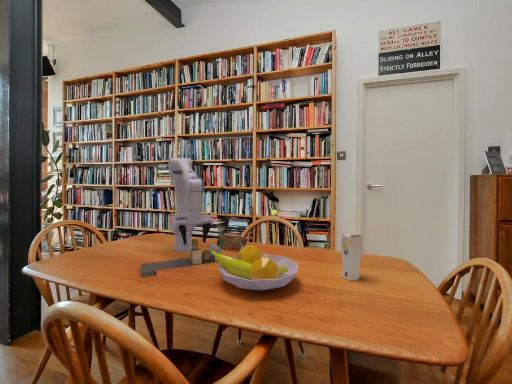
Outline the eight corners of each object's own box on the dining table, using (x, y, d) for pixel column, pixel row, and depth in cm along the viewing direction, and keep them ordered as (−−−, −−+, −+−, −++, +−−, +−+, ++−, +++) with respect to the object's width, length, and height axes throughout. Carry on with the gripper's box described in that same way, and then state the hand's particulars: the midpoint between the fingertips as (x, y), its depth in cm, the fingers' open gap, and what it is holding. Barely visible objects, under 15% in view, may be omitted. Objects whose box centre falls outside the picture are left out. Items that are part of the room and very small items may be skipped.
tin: (216, 251, 125) (216, 234, 125) (220, 250, 128) (220, 232, 128) (244, 256, 118) (244, 237, 118) (247, 254, 121) (247, 236, 121)
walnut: (200, 258, 110) (200, 249, 109) (209, 257, 111) (209, 248, 111) (203, 261, 106) (203, 251, 106) (212, 259, 108) (211, 250, 108)
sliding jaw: (189, 258, 110) (188, 238, 109) (196, 257, 111) (196, 237, 111) (193, 264, 103) (193, 242, 102) (201, 263, 104) (201, 241, 103)
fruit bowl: (299, 271, 100) (299, 241, 100) (294, 305, 74) (295, 264, 73) (228, 265, 106) (227, 237, 105) (199, 295, 79) (199, 257, 79)
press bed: (140, 267, 103) (140, 251, 102) (215, 257, 116) (215, 243, 115) (142, 276, 94) (141, 258, 93) (223, 264, 107) (223, 248, 106)
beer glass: (351, 282, 89) (352, 238, 89) (336, 275, 96) (337, 234, 95) (365, 279, 93) (366, 236, 92) (350, 272, 99) (351, 232, 98)
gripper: (177, 211, 99) (177, 247, 100) (215, 209, 105) (215, 243, 106) (174, 209, 105) (174, 243, 106) (210, 207, 111) (210, 239, 112)
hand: (194, 243), depth 106 cm, fingers open, 7 cm apart
